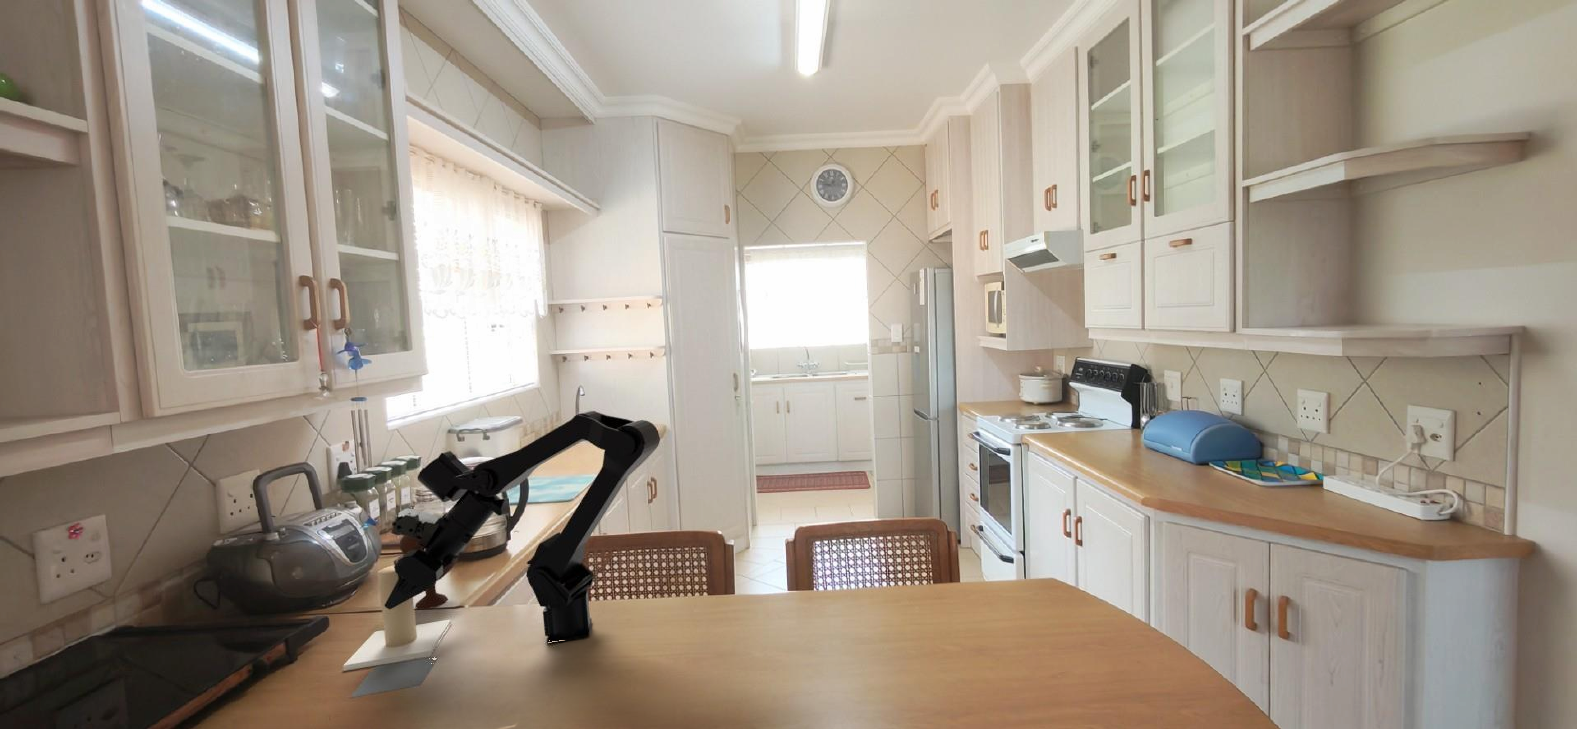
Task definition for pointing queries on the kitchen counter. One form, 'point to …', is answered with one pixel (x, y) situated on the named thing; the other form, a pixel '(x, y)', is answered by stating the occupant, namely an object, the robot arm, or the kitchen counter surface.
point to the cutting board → (379, 653)
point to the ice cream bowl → (431, 596)
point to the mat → (395, 676)
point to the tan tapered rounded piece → (396, 612)
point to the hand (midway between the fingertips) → (397, 596)
